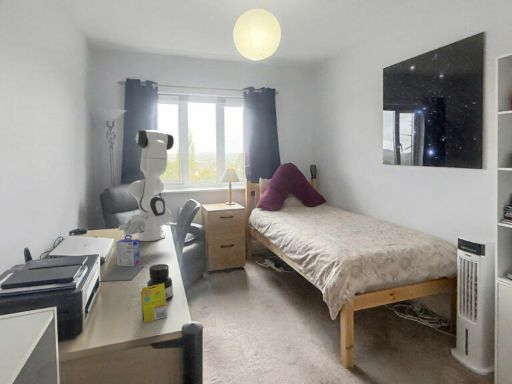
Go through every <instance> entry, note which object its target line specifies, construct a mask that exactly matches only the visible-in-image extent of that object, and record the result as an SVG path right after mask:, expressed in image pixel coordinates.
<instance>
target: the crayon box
mask: <svg viewBox="0 0 512 384" xmlns="http://www.w3.org/2000/svg"><path fill="white" fill-rule="evenodd" d="M152 287H156V288H152ZM149 288H152V289H149ZM140 297H141V298H140V300H141V310H142V311H141V313H142V320H143V323H144V324H147V323H150V322H153V321H156V320H160V319H164V318H167V317H168V312H167V311H168V310H167V309H168V307H167V301H166V296H165V286H164V283H162V284H158V285H153V286H149V287H147V286H146V287H142V288H141V290H140Z"/></svg>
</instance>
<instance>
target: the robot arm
mask: <svg viewBox="0 0 512 384" xmlns="http://www.w3.org/2000/svg"><path fill="white" fill-rule="evenodd" d="M135 142H136V145H137V146H138V147H140V148H142V149H141V150H142V151H141V155H140V163H139V164H140V166H139V169H140V172H141V173H143V175H144V179H139V180H135V181H133V182H131V183H130V185H129V193H130V195H131V196H132V197H133V198H135V200H136V201H137V204H138V208H139V214H134V215H132V216H130V218H129V219H128V221H127V222H126V223H124V224H122V225H119V227H118V231H123V234H124V236H126V235H135V234H137V236H136V237H135V240H139V242H140V241H141V242H152V241H157V240H161V239H166V236H167V235H166V234H167V231H163V226H165V225H167V224H169V223H170V222H171V221H172V217H173V215H172V211H171V210H170V209H169V208H168V207H167V205H166V201H165V200H164V198H163V197H162V196H159V194H160V193H162V192H163V191H164V189H165V185H164V182H163V181H162V180H161V178H160V177H161V176H162V175H163V174H164V173H165V172H166V171H167V168H168V167H167V166H168V151H169V150H171V149H172V148H173V147H174V144H175V140H174V136H173V134H172V133H170V132H164V131H160V130H148V129H139V130H138V131H137V133H136V135H135Z"/></svg>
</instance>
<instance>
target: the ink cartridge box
mask: <svg viewBox="0 0 512 384" xmlns="http://www.w3.org/2000/svg"><path fill="white" fill-rule="evenodd" d="M132 238H133V234H131V235H124V239H120V240H117V241H115V253H116V266H118V267H125V266H139V264H141V254H140V253H141V252H140V240H138V239H132Z"/></svg>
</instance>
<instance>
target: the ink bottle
mask: <svg viewBox="0 0 512 384" xmlns="http://www.w3.org/2000/svg"><path fill="white" fill-rule="evenodd" d="M148 270H149V280H148V281H147V285H146V287H149V286H153V285H158V284H162V283H164V286H165V296H166V302H168V301H169V300H171V299H172V298H173V296H174V291H173V290H174V289H173V280H172V278H171V277H170V275H169V274H170V270H169V265H168V264H165V263H158V264H154V265H151V266H149V268H148ZM152 288H156V287H152ZM152 288H149V289H152Z"/></svg>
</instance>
